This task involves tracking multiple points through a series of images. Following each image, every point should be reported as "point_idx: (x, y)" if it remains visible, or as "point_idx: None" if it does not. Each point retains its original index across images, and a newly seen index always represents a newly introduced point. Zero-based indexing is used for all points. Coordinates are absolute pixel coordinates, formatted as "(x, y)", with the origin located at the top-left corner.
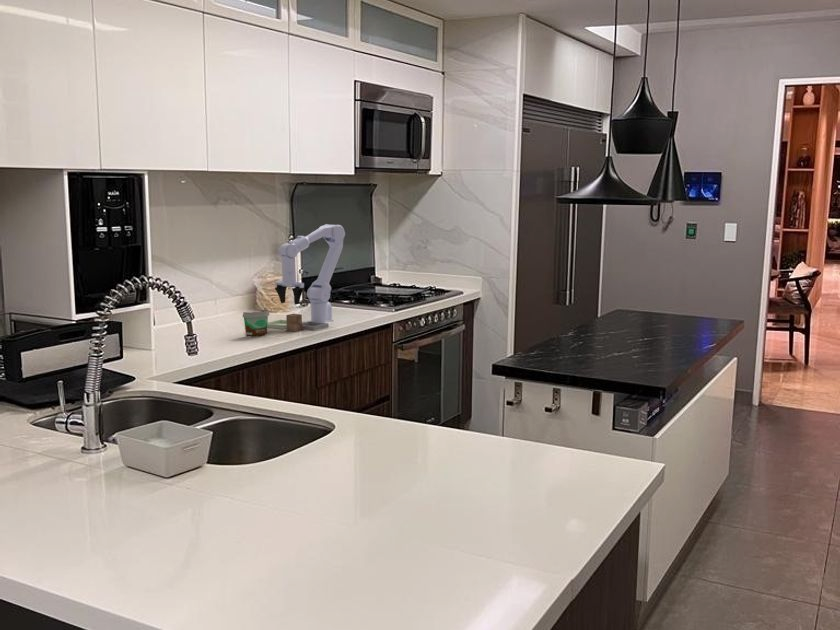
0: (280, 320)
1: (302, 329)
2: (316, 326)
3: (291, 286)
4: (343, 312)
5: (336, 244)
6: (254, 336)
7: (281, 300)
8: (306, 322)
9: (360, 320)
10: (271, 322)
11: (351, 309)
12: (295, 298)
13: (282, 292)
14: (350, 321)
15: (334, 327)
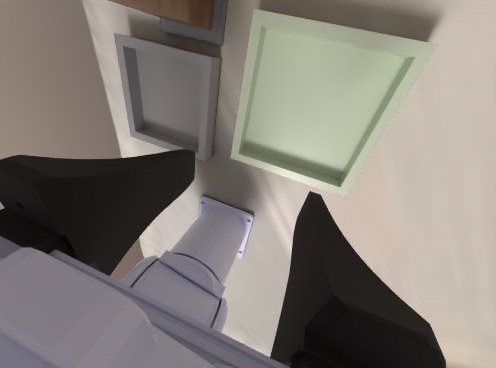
0: (341, 183)
1: (171, 30)
2: (119, 55)
3: (118, 290)
4: (238, 320)
5: None
6: None
7: (310, 199)
8: (202, 136)
9: (154, 241)
10: (377, 121)
11: (240, 340)
12: (148, 155)
13: (300, 274)
14: (163, 231)
15: (136, 144)
